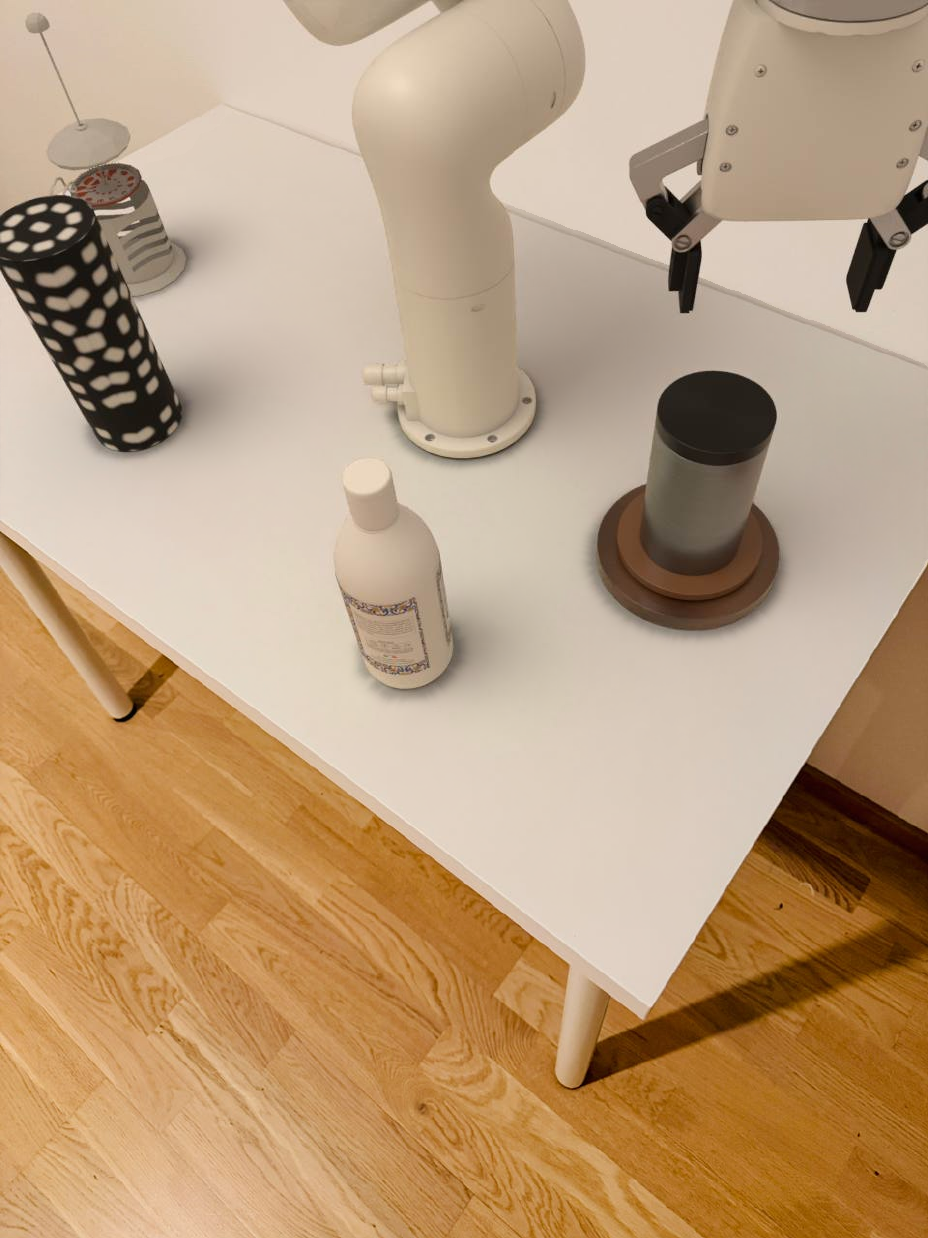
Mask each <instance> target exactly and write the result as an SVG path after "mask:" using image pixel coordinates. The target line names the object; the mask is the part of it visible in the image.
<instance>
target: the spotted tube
mask: <svg viewBox="0 0 928 1238" xmlns="http://www.w3.org/2000/svg"><path fill="white" fill-rule="evenodd" d="M96 216H97V214H96V212H95V211H94V210H93V208H92V206H91V205H90V204H89V203H88V202H86V201H84V200H83V199H80V198H77V197H74V196H71V195H66V194H65V195H62V194H53V195H51V196H50V195H44V196H40V197H39V196H38V197H34V198H32V199H28V200H25V201H23V202H20V203H19V204H16V205H14V206H12V207H10V208H9V209H7V210H5V211H4V212H3V213H1V214H0V274H1V275H2V277H3V278H4V280H5V282H6V284H7V285H8V287H9V289H10V291H11V292H12V294H13V296H14V297H15V299H16V301H17V303H18V304H19V306H20V308H21V310H22V311H23V313H24V315H25V317H26V318H27V320H28V322H29V323H30V326H31V327H32V328H33V330H34V333H35V334H36V335H37V337H38V339H39V341H40V343H41V345H42V346H43V348H44V349H45V351H46V353H47V355H48V357H49V359H50V360H51V361H52V363H53V365H54V367H55V368H56V370H57V372H58V373H59V375H60V378H61V379H62V380H63V382H64V385H65V386H66V387H67V389H68V391H69V392H70V395H71V396H72V398H73V399H74V401H75V403H76V404H77V407H78V408H79V410H80V412H81V414H82V415H83V417H84V419H85V420H86V422H87V424H88V425H89V427H90V429H91V431H92V433H93V434H94V436H95V437H96V439H97V440H98V442H99V443H100V444H101V445H103V446H104V447H106V448H107V449H110V450H112V451H117V452H125V453H127V452H128V453H129V452H138V451H142V450H146V449H149V448H151V447H154V446H155V445H158V444H160V443H161V442H163V441H164V440H166V439H167V438H169V437H170V435H171V434H173V432H174V431H175V430H177V428H178V426H179V424H180V422H181V419H182V415H183V407H182V404H181V402H180V400H179V397H178V395H177V393H176V391H175V389H174V386H173V384H172V381H171V379H170V377H169V375H168V372H167V370H166V368H165V366H164V363H163V361H162V359H161V357H160V355H159V353H158V351H157V348H156V346H155V344H154V341H153V340H152V337H151V334H150V332H149V330H148V328H147V326H146V323H145V322H144V320H143V317H142V315H141V313H140V311H139V308H138V305H137V303H136V301H135V299H134V296H132V295H131V292H130V290H129V288H128V286H127V284H126V281H125V279H124V277H123V275H122V272H121V270H120V268H119V266H118V264H117V261H116V259H115V257H114V255H113V252H112V250H111V248H110V246H109V243H108V241H107V239H106V237H105V235H104V232H103V230H102V228H101V226H100V223H99V221H98V219H97V217H96Z"/></svg>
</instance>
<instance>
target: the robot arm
mask: <svg viewBox="0 0 928 1238" xmlns="http://www.w3.org/2000/svg"><path fill="white" fill-rule="evenodd" d="M282 1H283V2H284V4H285V5H286V6H287V8H288V9H289V11H290V13H292V15H293V16H294V17H295V18H296V20H297V21H298V22H299V24H301V27H303V28H304V29H305V30H306V31H307V32H308V33H309V34H310V35H311V36H312V37H314V38H315V39H316V40H318V41H319V42H321V43H323V44H325V45H329V46H333V47H343V46H347V45H353V44H354V43H357V42H360V41H362V40H364V39H366V38H368V37H370V36H371V35H374V34H376V33H377V32H379V31H380V30H383V29H384V28H386V27H388V26H391V25H392V24H394V23H395V22H397V21H398V20H400V19H402V18H404V17H405V16H407V15H408V14H410V13H412V12H414V11H416V10H417V9H419V8H421V7H423V6H424V5H426V4H428V3H429V2H430V1H431V2H432V3H433V5H434V6H435V7H436V9H437V10H438V11H439V13H438V14H437V15H435V16H433V17H432V18H430V19H429V20H427V21H425V22H424V23H421V24H420V25H419V26H417V27H415V28H413V29H412V30H410V31H409V32H407V33H406V34H404V35H402V36H401V37H399V38H398V39H397V40H395V41H393V42H392V43H391V44H389V45H388V46H386V48H384V49H383V50H382V51H381V52H380V53H379V54H378V55H377V56H376V57H375V58H374V59H373V60H372V61H371V62H370V63H369V64H368V66H367V67H365V68H366V69H365V70H364V71H363V72H362V74H361V76H360V78H359V80H358V82H357V84H356V87H355V90H354V93H353V97H352V103H351V122H352V128H353V132H354V138H355V141H356V143H357V146H358V150H359V153H360V155H361V158H362V160H363V163H364V166H365V168H366V171H367V173H368V175H369V179H370V181H371V184H372V187H373V189H374V193H375V196H376V200H377V203H378V207H379V210H380V215H381V219H382V223H383V227H384V232H385V237H386V244H387V249H388V254H389V261H390V266H391V272H392V278H393V283H394V290H395V296H396V303H397V310H398V315H399V321H400V327H401V333H402V339H403V347H404V352H405V358H406V360H399V361H398V362H397V364H385V363H364V364H363V366H362V382H363V384H364V386H373V387H372V391H371V394H372V395H371V396H372V402H373V403H389V402H397V403H396V404H397V405H396V406H397V407H396V408H397V409H396V410H397V416H398V421H399V424H400V428H401V429H402V431H403V432H404V434H405V435H406V437H407V438H408V439H409V440H410V441H411V442H412V443H414V445H416V446H417V447H419V448H421V449H423V450H424V451H425V452H429V453H431V454H434V455H436V456H441V457H445V458H451V459H470V458H471V459H472V458H480V457H484V456H488V455H492V454H495V453H497V452H500V451H501V450H502V451H503V449H506V448H508V447H509V446H511V445H512V444H513V443H516V442H517V441H518V440H519V439H520V438H521V437H522V436H523V435H525V433H526V432H527V431H528V429H529V428H530V427H531V425H532V423H533V420H534V418H535V416H536V408H537V394H536V391H535V387H534V384H533V383H532V381H531V379H530V377H529V375H527V374H526V373H525V372H524V370H523V369H522V368H520V367H519V366H518V337H517V336H518V334H517V333H518V332H517V331H518V330H517V298H516V297H517V295H516V267H515V266H516V265H515V264H516V263H515V242H514V241H515V240H514V231H513V230H514V229H513V225H512V221H511V218H510V217H511V216H510V215H509V212H508V210H507V208H506V207H505V206H504V205H503V203H502V202H501V201H500V199H499V198H498V197H497V196H496V195H495V194H494V192H493V190H492V188H491V177H492V176H493V172H494V171H495V169H496V168H497V167H498V166H499V165H500V164H502V162H504V161H505V160H506V159H508V158H509V157H510V156H511V155H512V154H514V153H515V152H516V151H517V150H518V149H520V148H521V147H522V146H524V145H526V144H527V143H528V142H529V141H531V140H532V139H534V138H535V137H537V136H538V135H539V134H541V133H542V132H543V131H544V130H546V129H547V128H548V127H550V126H551V125H552V124H553V123H555V122H556V121H557V120H558V119H560V118H561V117H562V116H563V115H564V114H565V113H566V112H567V111H568V110H569V109H570V108H571V107H572V105H573V104H574V102H575V101H576V99H577V97H578V96H579V94H580V91H581V90H582V87H583V83H584V80H585V73H586V62H587V61H586V47H585V43H584V38H583V34H582V30H581V27H580V25H579V22H578V18H577V17H576V16H577V15H576V14H575V11H574V10H573V8H572V5H571V4H570V2H569V0H282ZM919 158H921V159H924V160H926V161H927V162H928V0H732V3H731V6H730V9H729V12H728V16H727V18H726V21H725V25H724V29H723V32H722V35H721V37H720V42H719V45H718V50H717V54H716V57H715V62H714V66H713V71H712V75H711V80H710V83H709V89H708V93H707V97H706V103H705V108H704V113H703V117H702V119H701V120H699V121H697V122H695V123H694V124H691V125H690V126H688V127H686V128H684V129H682V130H679V131H678V132H676V133H674V134H672V135H670V136H668V137H666V138H663V139H662V140H660V141H658V142H656V143H654V144H651V145H650V146H648V147H646V148H644V149H642V150H640V151H638V152H636V153H634V154H633V155H631V156H630V158H629V160H628V177H629V180H630V182H631V185H632V186H633V189H634V190H635V193H636V195H637V197H638V199H639V202H640V203H641V205H642V206H643V209H644V211H645V217H646V218H647V220H649V221H650V222H651V223H652V224H653V225H654V227H656V228H657V229H658V230H659V231H660V232H661V233H662V234H663V235H664V236H666V238H667V239H669V241H670V243H671V250H670V257H669V265H668V275H667V288H668V289H667V290H668V292H677V293H678V307H679V314H690V312H693V311H694V308H695V300H696V295H697V289H698V288H697V287H698V284H699V278H700V273H701V272H700V271H701V266H702V265H701V264H702V258H703V250H702V240H703V239H704V238H705V237H706V236H707V235H708V234H710V232H712V231H713V230H714V229H715V228H716V227H717V226H718V225H720V224H721V222H723V221H724V222H725V221H727V222H744V223H745V222H808V221H809V222H810V221H811V222H813V221H855V220H866V219H867V221H866V222H863V224H862V227H861V230H860V233H859V236H858V239H857V242H856V246H855V248H854V251H853V255H852V257H851V260H850V263H849V267H848V270H847V274H846V277H845V284H846V287H847V292H848V296H849V300H850V306H851V309H852V311H855V313H867V312H868V310H869V307H870V305H871V301H872V298H873V296H874V294H875V290H876V291H877V290H882V289H883V288H884V285H885V283H886V281H887V278H888V275H889V274H890V273H889V272H890V269H891V267H892V265H893V262H894V259H895V257H896V253H897V251H898V250H901V249H903V248H905V247H907V246H908V244H909V243H911V240H912V235H913V234H915V233H916V232H918V231H919V230H921V229H923V228H924V227H925V226H927V225H928V179H926V180H924V181H922V183H920V184H918V185H917V186H916V187H914V188H913V189H911V190H910V191H909V192H907V190H908V188H909V186H910V184H911V181H912V179H913V178H912V177H913V175H914V173H915V169H916V166H917V163H918V159H919ZM694 163H696V174H697V176H701V177H700V178H701V179H700V180H699V181H698V182H696V184H695V185H694V186H693V187H691V188H690V190H689V191H687V192H686V194H684V195H683V196H682V197H681V198H680V199H678V197H676V196H675V194H674V193H673V192H672V191H671V190H670V189H669V188H668V187H667V186H666V185H664V182H663V179H665V178H666V177H667V176H669V175H672V174H673V173H675V172H677V171H679V170H682V169H684V168H685V167H688V166H690V165H692V164H694ZM906 192H907V193H906ZM385 385H397V387H395V386H393V387H392V386H385Z"/></svg>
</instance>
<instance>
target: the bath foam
mask: <svg viewBox="0 0 928 1238" xmlns="http://www.w3.org/2000/svg"><path fill="white" fill-rule="evenodd" d="M341 483H342V484H341V485H342V487H343V488H342V489H343V490H344V495H345V499H346V502H347V505H348V509H349V512H350V514H349V515H347V517H346V519H345V520H344V522H343V523H342V525H341V527H340V529H339V530H338V532H337V535H336V538H335V542H334V548H333V565H334V567H333V568H334V574H335V578H336V582H337V584H338V587H339V591H340V593H341V596H342V599H343V600H342V601H343V602H344V606H345V609H346V612H347V615H348V618H349V621H350V624H351V627H352V630H353V633H354V636H355V639H356V642H357V645H358V648H359V651H360V654H361V657H362V660H363V662H364V665H365V667H366V669H367V670H368V672H369V673H370V675H372V676H373V678H375V679H376V680H378V681H379V682H380V683H382V684H383V685H385V686H388V687H391V688H394V689H401V690H406V689H407V690H408V689H415V688H416V689H417V688H420V687H422V686H426V685H427V684H430V683H431V682H433V681H435V680H436V679H437V678H438V677H440V676H441V675H442V674H443V673H444V671H445V670H446V669H447V667H448V666H449V664H450V662H451V660H452V656H453V652H454V639H453V633H452V624H451V623H452V622H451V617H450V611H449V605H448V599H447V593H446V586H445V580H444V574H443V567H442V561H441V553H440V550H439V547H438V546H439V545H438V544H437V541H436V538H435V536H434V533H432V531H431V529H430V528H429V526H428V524H427V523H426V522H425V520H423V518H422V517H421V516H419V514H417V513H416V511H413V510H412V509H410V508H409V507H408V506H405V505H404V504H402V503H399V502H398V498H397V497H398V496H397V491H396V488H395V482H394V478H393V473H392V471H391V468H390V466H389V465H388V464H387V463H386V461H384V460H382V459H380V458H376V457H363V458H359V459H356V460H354V461H352V462H351V463H350V464H348V466H346V468H345V469H344V470H343V472H342V476H341Z"/></svg>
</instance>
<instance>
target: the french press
mask: <svg viewBox="0 0 928 1238" xmlns="http://www.w3.org/2000/svg"><path fill="white" fill-rule="evenodd" d="M24 22H25V28H26V29H27V31H28V33H30V34H39V35H40V37H41V40H42V42H43V45H44V47H45V49H46V51H47V54H48V56H49V58H50V61H51V64H52V65H53V68H54V70H55V73H56V75H57V78H58V80H59V82H60V84H61V87H62V89H63V91H64V93H65V95H66V98H67V100H68V103H69V105H70V107H71V109H72V112H73V114H74V116H75V119H76V121H75V122H72V123H69V124H67V125H65V126H64V127H63V128H62V129H61V130H60V131H59V132H56V134H55V135H54V136H53V137H52V139H51V140H50V142H49V144H48V146H47V148H46V150H45V153H46V156H47V159H48V161H50V163H52V164H54V165H55V166H56V167H58V168H60V169H63V170H67V171H73V172H74V171H82V170H85V171H84V172H81V173H80V174H79V175H78V177H76V178H75V179H74V180H70V181H68V182H67V183H66V182H65V181H64V178H63V177H61V176H58V177H56V178H55V179H54V181H53V183H52V184H51V187H50V190H49V196H51V195H54V189H55V187H56V185H57V183H58V181H60V182H61V183H62V185H63V188H64V189H63V191H62V194H61V195H66V193H67V191H68V192H69V193H70V196H74V197H77V198H80V199H83V200H84V201H86V202H88V203H89V204H90V205H91V206H92V208H93V210H94V212H95V211H116V210H125V209H128V208H133V209H134V210H133V211H131V212H128V213H120V214H98V215H97V214H96V217H97V219H98V221H99V223H100V226H101V228H102V230H103V232H104V235H105V237H106V239H107V241H108V243H109V246H110V248H111V250H112V252H113V255H114V257H115V259H116V261H117V264H118V266H119V268H120V270H121V272H122V275H123V277H124V279H125V281H126V284H127V286H128V288H129V290H130V292H131V295H132V297H137V296H138V297H139V296H140V297H141V296H145V295H148V294H151V293H153V292H154V293H155V292H157V291H160V290H162V289H164V288H165V287H166V286H168V285H170V284H171V283H173V282H175V281H176V280H177V278H178V277H179V276H180V275H181V274H182V273H183V272H184V270H185V267H186V262H187V256H186V255H185V252H184V250H183V248H181V247H180V246H178V245H176V244H175V243H174V242H172V241H170V238H169V236H168V234H167V231H166V228H165V225H164V224H163V220H162V218H161V215H160V213H159V210H158V209H159V208H158V207H157V205H156V203H155V200H154V197H153V194H152V192H151V190H150V187H149V185H148V184H147V182H146V181H145V180H144V179H142V178H143V176H142V174H141V172H140V170H139V169H138V168H136V167H135V166H133V165H131V164H128V163H127V164H125V163H120V162H118V163H117V162H114V163H113V162H112V163H109V162H111V161H113V160H115V159H117V158H119V157H120V156H121V154H122V153H124V151H126V150H127V148H128V146H129V144H130V140H131V133H130V132H129V129H128V127H127V126H126V125H124V124H122V123H120V122H119V121H116V120H111V119H108V118H102V117H100V118H85V119H80V118H79V116H78V114H77V111H76V109H75V107H74V104H73V102H72V100H71V97H70V95H69V93H68V90H67V88H66V86H65V83H64V80H63V78H62V76H61V74H60V72H59V71H60V70H59V69H58V67H57V65H56V62H55V60H54V57H53V55H52V52H51V51H50V48H49V45H48V44H47V41H46V39H45V36H44V34H43V33H44V32H45V31H46V32H47V31H48V30H49V29H50V27H51V25H50V22H49V20H48V18H47V17H46V16H45V15H44V14H42V13H41V12H30V13H29V14H27V16H26V18H25V21H24ZM127 199H130V200H127ZM125 200H127V201H125ZM120 232H121V233H122V232H128V233H126V234H125V235H118V234H119V233H120Z"/></svg>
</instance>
